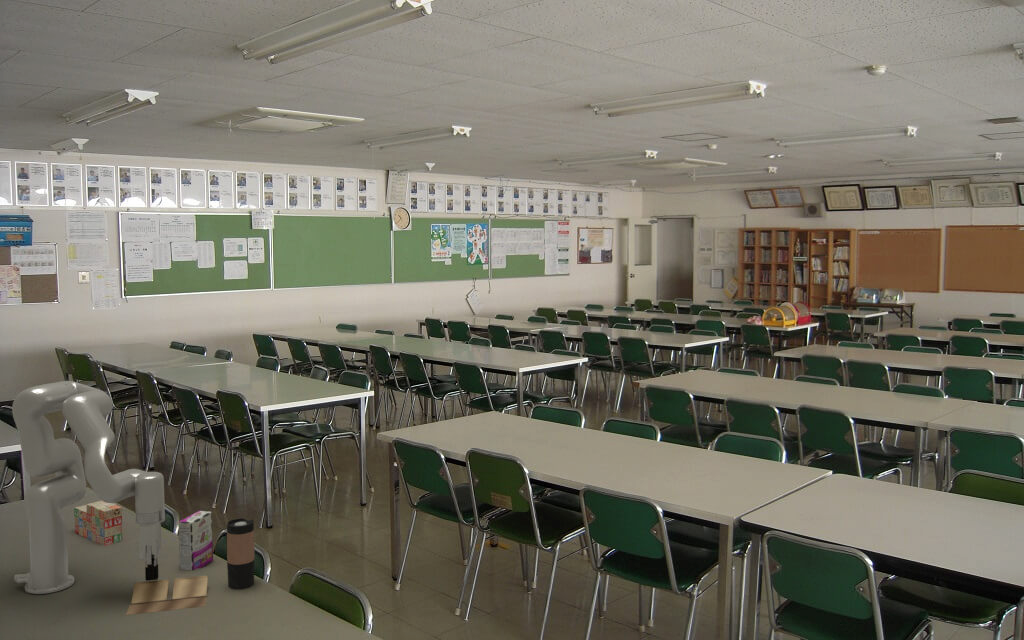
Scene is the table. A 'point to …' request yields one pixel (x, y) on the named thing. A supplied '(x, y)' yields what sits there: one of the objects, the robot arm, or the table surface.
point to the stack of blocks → (99, 522)
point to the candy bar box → (195, 540)
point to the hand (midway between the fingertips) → (152, 579)
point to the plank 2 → (190, 587)
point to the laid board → (166, 605)
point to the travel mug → (240, 553)
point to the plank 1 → (150, 591)
